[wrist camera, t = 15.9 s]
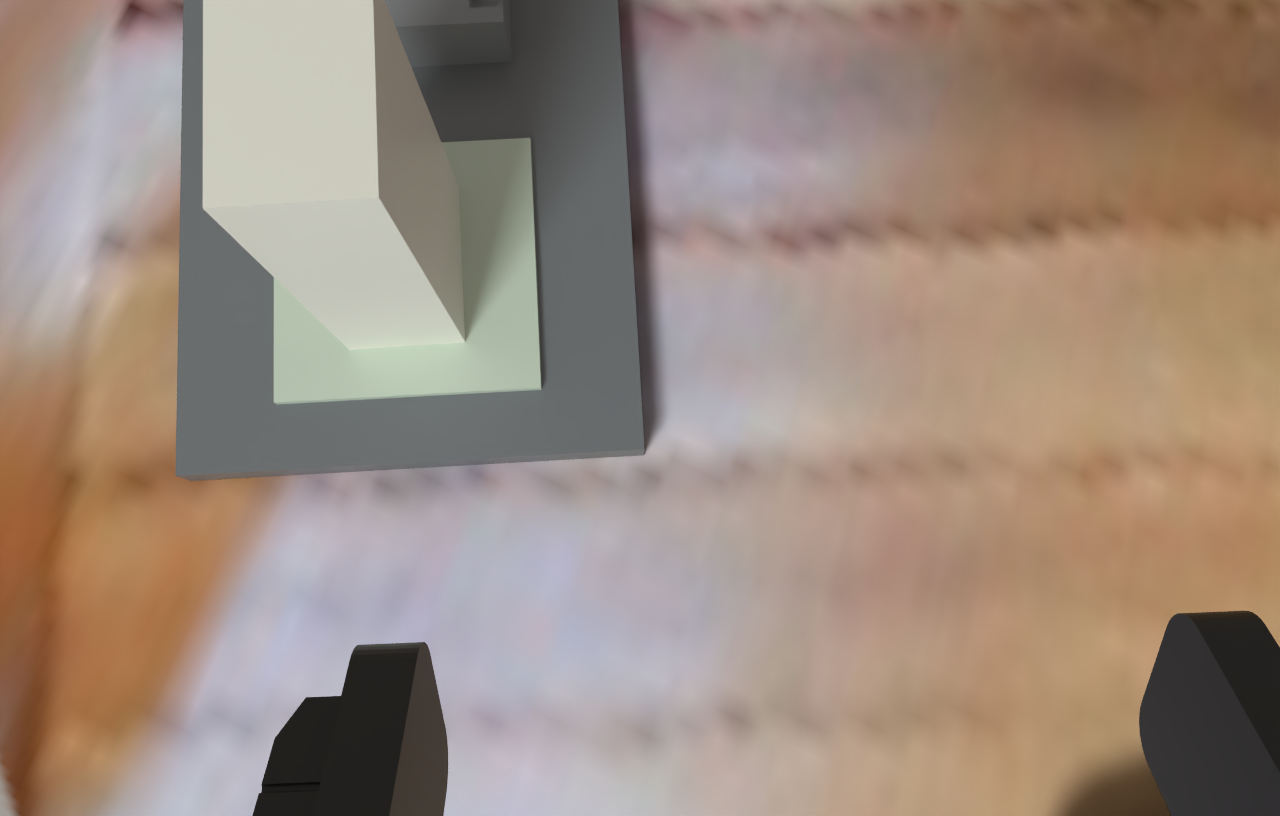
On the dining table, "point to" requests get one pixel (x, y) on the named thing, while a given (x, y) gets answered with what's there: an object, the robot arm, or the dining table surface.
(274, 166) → the cream rectangular block
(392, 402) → the grey socket base
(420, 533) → the dining table surface
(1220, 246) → the dining table surface
